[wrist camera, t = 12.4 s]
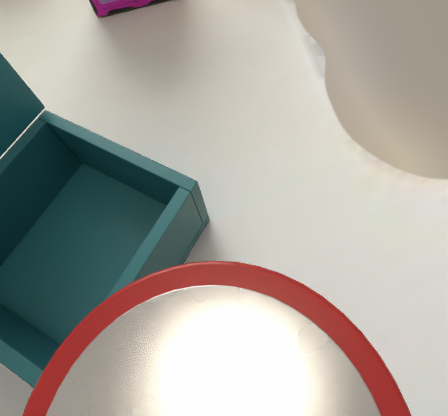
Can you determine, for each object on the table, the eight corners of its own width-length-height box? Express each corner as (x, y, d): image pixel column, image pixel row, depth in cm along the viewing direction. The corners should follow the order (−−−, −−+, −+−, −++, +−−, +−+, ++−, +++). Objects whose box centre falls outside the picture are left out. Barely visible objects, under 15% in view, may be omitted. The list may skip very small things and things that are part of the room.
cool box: (209, 219, 29) (197, 181, 22) (106, 390, 24) (54, 403, 18) (85, 157, 32) (44, 109, 26) (-26, 296, 27) (-109, 279, 21)
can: (248, 291, 17) (245, 193, 7) (340, 410, 14) (551, 542, 4) (140, 375, 16) (-66, 414, 5) (221, 520, 13) (127, 1061, 3)
